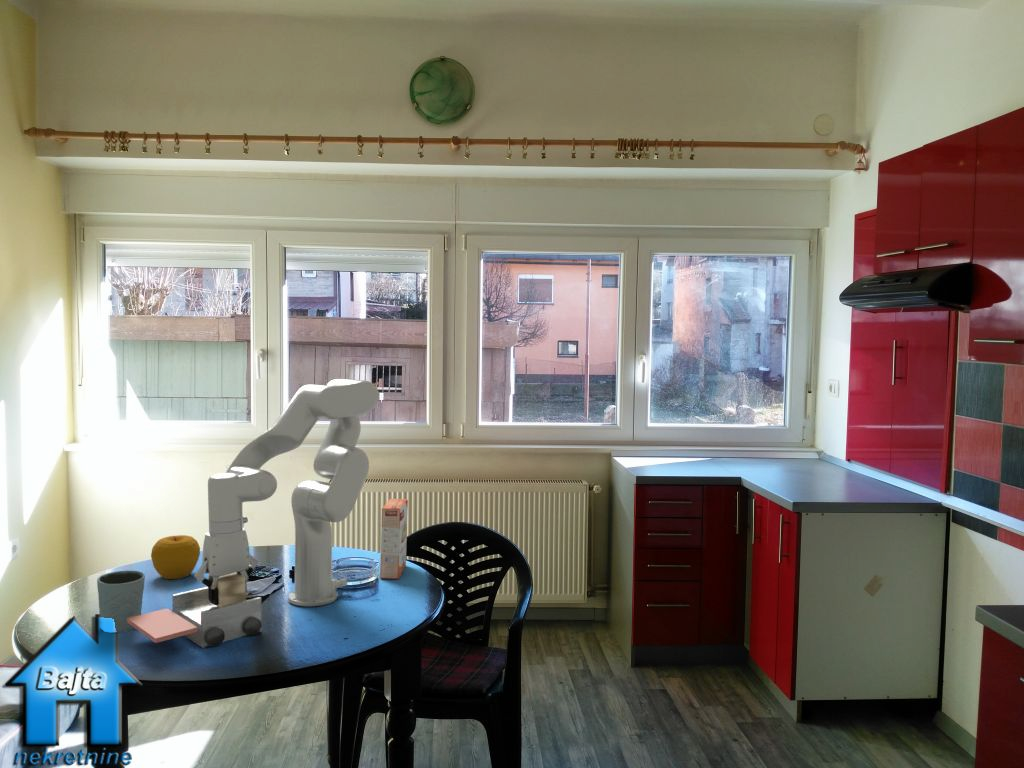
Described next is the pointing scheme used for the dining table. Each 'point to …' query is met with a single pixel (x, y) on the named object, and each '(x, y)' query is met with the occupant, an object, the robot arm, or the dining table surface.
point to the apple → (175, 556)
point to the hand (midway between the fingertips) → (227, 599)
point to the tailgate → (161, 625)
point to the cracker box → (393, 538)
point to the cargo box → (231, 589)
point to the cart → (217, 617)
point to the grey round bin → (121, 597)
